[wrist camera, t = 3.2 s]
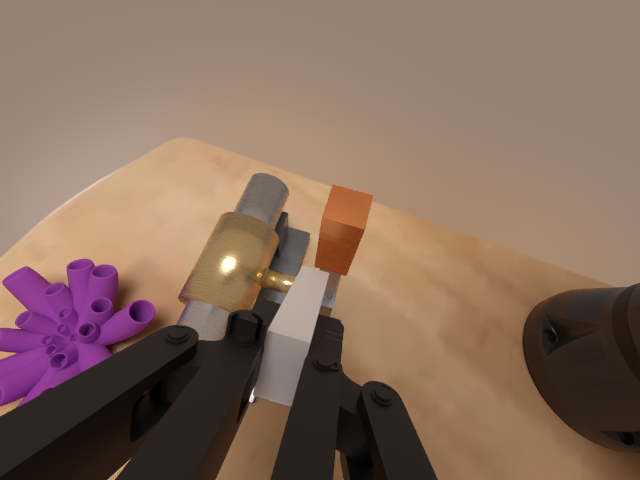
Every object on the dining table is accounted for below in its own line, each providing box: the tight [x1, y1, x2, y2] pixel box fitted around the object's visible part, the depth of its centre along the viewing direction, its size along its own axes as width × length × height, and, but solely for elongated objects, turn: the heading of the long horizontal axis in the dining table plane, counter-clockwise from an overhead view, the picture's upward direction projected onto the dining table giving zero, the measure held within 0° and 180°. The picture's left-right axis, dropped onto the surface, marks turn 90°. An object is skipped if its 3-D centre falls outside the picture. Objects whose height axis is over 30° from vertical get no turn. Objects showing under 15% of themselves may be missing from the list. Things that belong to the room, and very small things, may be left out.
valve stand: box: [176, 173, 310, 403], centre depth 28 cm, size 18×10×11 cm, turn 164°
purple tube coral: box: [0, 259, 155, 408], centre depth 26 cm, size 11×15×10 cm
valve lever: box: [315, 185, 373, 317], centre depth 21 cm, size 3×2×14 cm
